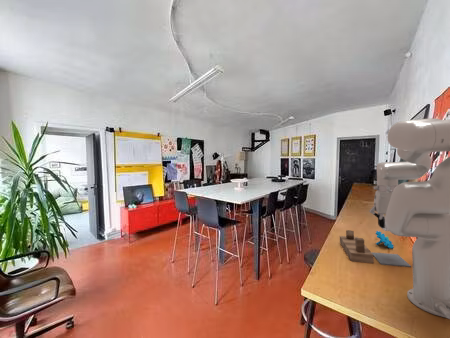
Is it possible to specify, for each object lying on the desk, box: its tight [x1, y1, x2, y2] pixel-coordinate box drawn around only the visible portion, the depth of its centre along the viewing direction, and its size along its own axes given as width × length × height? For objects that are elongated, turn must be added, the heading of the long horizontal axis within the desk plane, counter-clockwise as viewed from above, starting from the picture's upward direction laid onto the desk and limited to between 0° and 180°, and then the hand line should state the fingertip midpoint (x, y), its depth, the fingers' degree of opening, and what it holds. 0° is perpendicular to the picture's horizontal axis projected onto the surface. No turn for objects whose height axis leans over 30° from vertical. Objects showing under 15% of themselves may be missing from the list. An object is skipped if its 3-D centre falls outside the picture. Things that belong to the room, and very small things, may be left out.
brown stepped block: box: [339, 229, 375, 264], centre depth 103 cm, size 22×9×10 cm, turn 162°
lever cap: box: [381, 214, 390, 232], centre depth 93 cm, size 6×5×7 cm
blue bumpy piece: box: [375, 230, 394, 249], centre depth 108 cm, size 11×6×10 cm
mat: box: [371, 251, 412, 268], centre depth 93 cm, size 11×11×1 cm
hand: (388, 227), depth 93 cm, fingers closed on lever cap, 4 cm apart
